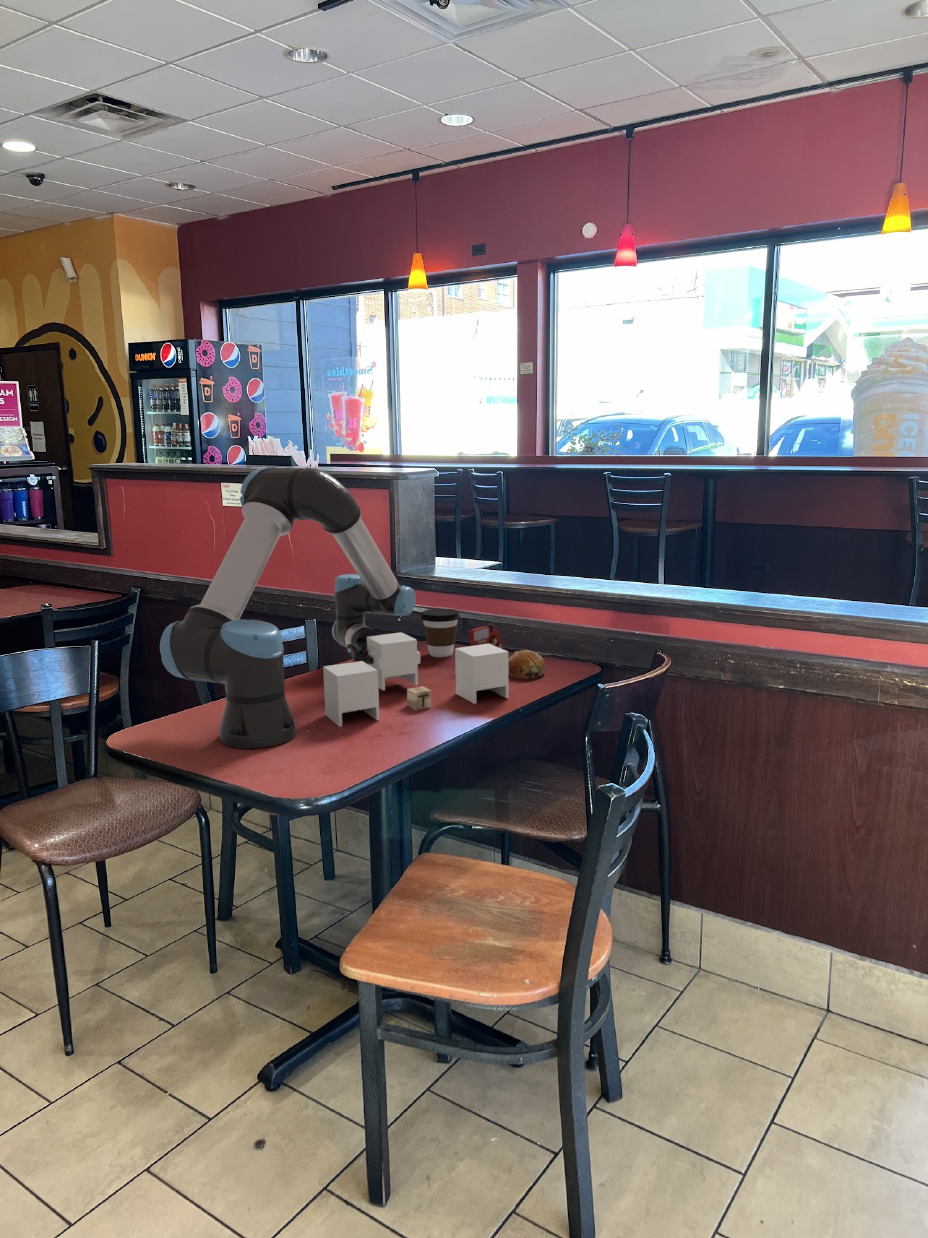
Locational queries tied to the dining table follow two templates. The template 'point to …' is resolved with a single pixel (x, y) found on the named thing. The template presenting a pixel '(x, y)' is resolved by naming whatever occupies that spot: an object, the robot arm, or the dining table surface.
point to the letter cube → (419, 698)
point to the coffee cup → (440, 630)
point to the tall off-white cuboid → (395, 657)
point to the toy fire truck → (485, 636)
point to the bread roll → (525, 665)
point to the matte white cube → (350, 690)
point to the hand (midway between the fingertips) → (399, 660)
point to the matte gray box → (481, 671)
